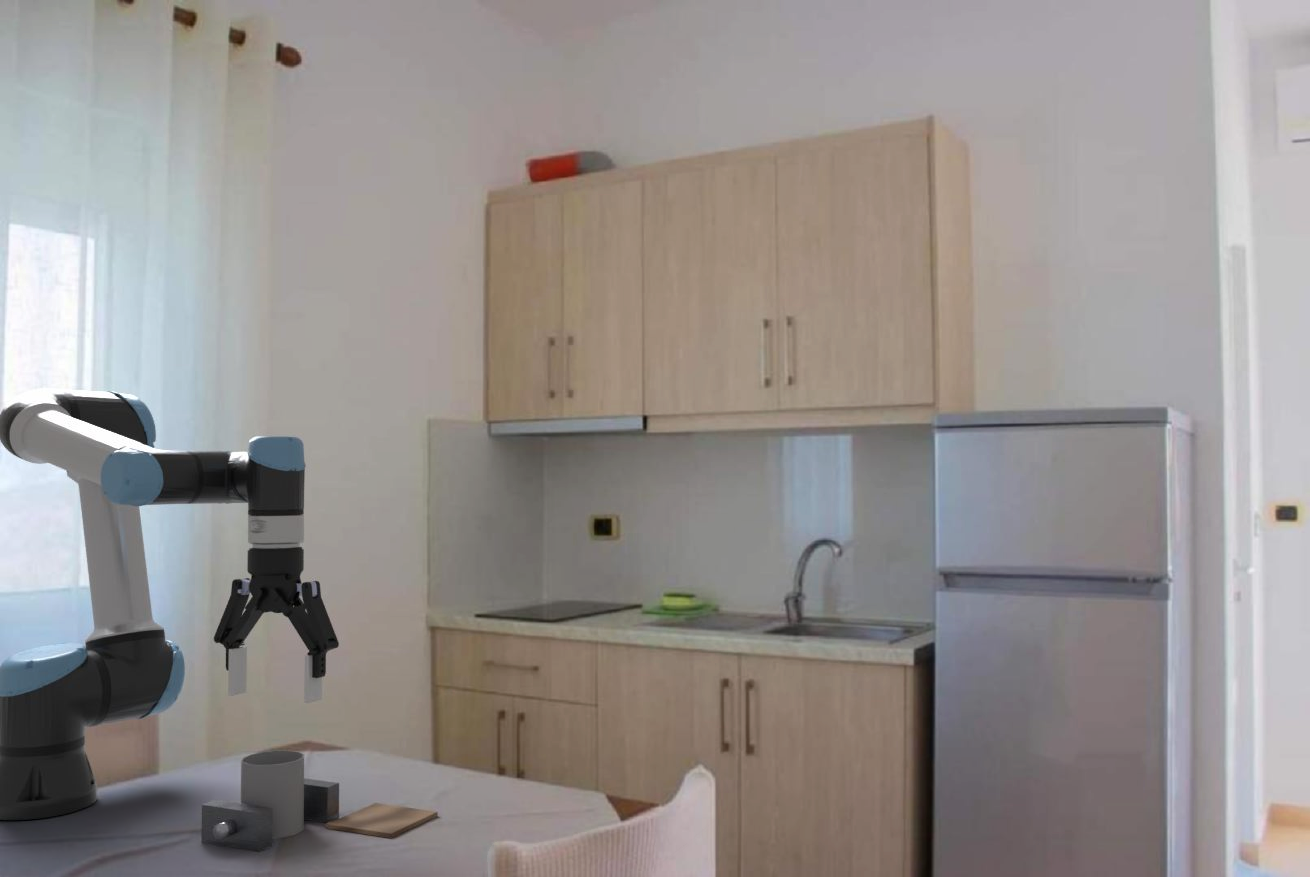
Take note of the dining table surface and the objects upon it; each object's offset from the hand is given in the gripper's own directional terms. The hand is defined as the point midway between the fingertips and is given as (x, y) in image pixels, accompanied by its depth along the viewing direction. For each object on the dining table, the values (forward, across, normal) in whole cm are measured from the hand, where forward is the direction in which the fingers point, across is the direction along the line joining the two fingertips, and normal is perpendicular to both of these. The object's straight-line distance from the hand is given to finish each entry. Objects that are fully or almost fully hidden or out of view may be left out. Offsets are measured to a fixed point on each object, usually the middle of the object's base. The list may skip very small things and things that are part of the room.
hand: (274, 698), depth 158 cm
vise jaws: (+18, 0, 0) cm, 18 cm away
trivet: (+18, +12, +9) cm, 24 cm away
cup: (+18, 0, 0) cm, 19 cm away
